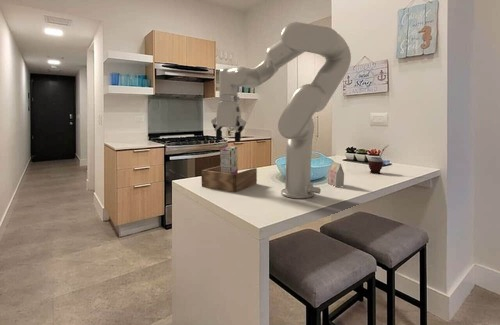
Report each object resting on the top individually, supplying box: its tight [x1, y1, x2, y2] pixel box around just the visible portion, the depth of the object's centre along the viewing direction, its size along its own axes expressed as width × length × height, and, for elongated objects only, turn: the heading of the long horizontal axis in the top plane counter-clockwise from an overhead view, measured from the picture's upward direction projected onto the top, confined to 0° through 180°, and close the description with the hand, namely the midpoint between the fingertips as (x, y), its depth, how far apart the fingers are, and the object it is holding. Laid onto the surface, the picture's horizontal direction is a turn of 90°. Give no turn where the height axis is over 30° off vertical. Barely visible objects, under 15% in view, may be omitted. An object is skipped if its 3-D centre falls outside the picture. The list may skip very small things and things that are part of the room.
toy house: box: [327, 161, 345, 188], centre depth 133 cm, size 4×7×10 cm, turn 15°
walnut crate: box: [200, 165, 258, 193], centre depth 133 cm, size 17×17×7 cm
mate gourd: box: [367, 144, 390, 175], centre depth 159 cm, size 8×8×15 cm
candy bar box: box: [219, 145, 239, 174], centre depth 132 cm, size 11×5×16 cm, turn 168°
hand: (228, 140), depth 131 cm, fingers open, 9 cm apart
